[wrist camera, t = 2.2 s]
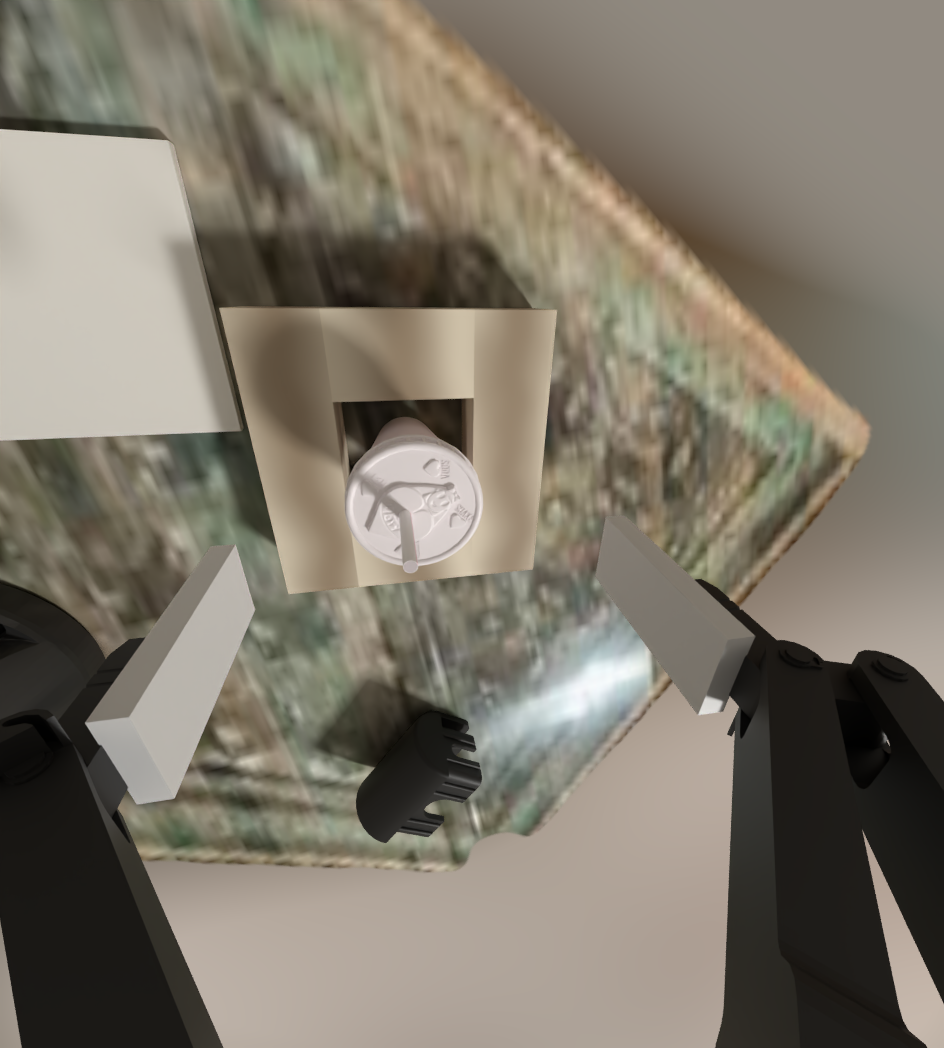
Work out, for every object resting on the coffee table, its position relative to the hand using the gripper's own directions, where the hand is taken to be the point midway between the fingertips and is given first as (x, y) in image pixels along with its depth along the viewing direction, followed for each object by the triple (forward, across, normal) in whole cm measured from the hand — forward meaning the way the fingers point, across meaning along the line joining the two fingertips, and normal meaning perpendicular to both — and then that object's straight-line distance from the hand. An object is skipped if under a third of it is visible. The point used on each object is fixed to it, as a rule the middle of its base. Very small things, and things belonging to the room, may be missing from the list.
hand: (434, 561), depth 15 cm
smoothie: (+14, 0, 0) cm, 14 cm away
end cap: (+14, -2, -30) cm, 33 cm away
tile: (+14, -16, +8) cm, 23 cm away
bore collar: (+14, 0, 0) cm, 14 cm away
